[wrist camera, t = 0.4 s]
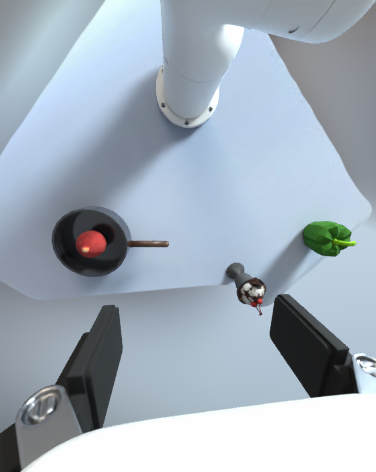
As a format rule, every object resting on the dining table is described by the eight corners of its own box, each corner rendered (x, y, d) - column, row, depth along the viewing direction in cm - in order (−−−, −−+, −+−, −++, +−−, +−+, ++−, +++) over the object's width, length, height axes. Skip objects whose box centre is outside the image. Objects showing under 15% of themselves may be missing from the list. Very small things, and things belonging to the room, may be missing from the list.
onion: (87, 251, 44) (70, 266, 37) (82, 228, 42) (63, 238, 35) (112, 249, 45) (101, 263, 37) (108, 226, 43) (95, 235, 35)
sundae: (230, 286, 52) (255, 326, 37) (219, 268, 50) (240, 303, 35) (251, 274, 51) (283, 309, 37) (240, 255, 49) (271, 285, 35)
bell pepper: (291, 243, 50) (321, 257, 41) (305, 214, 48) (340, 222, 39) (316, 250, 52) (350, 266, 42) (331, 223, 50) (370, 233, 40)
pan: (58, 205, 41) (46, 208, 37) (129, 207, 43) (125, 210, 38) (68, 268, 45) (57, 277, 41) (132, 267, 47) (128, 276, 43)
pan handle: (127, 245, 42) (126, 247, 41) (126, 239, 42) (125, 241, 40) (168, 245, 43) (168, 248, 42) (168, 240, 43) (169, 242, 41)
